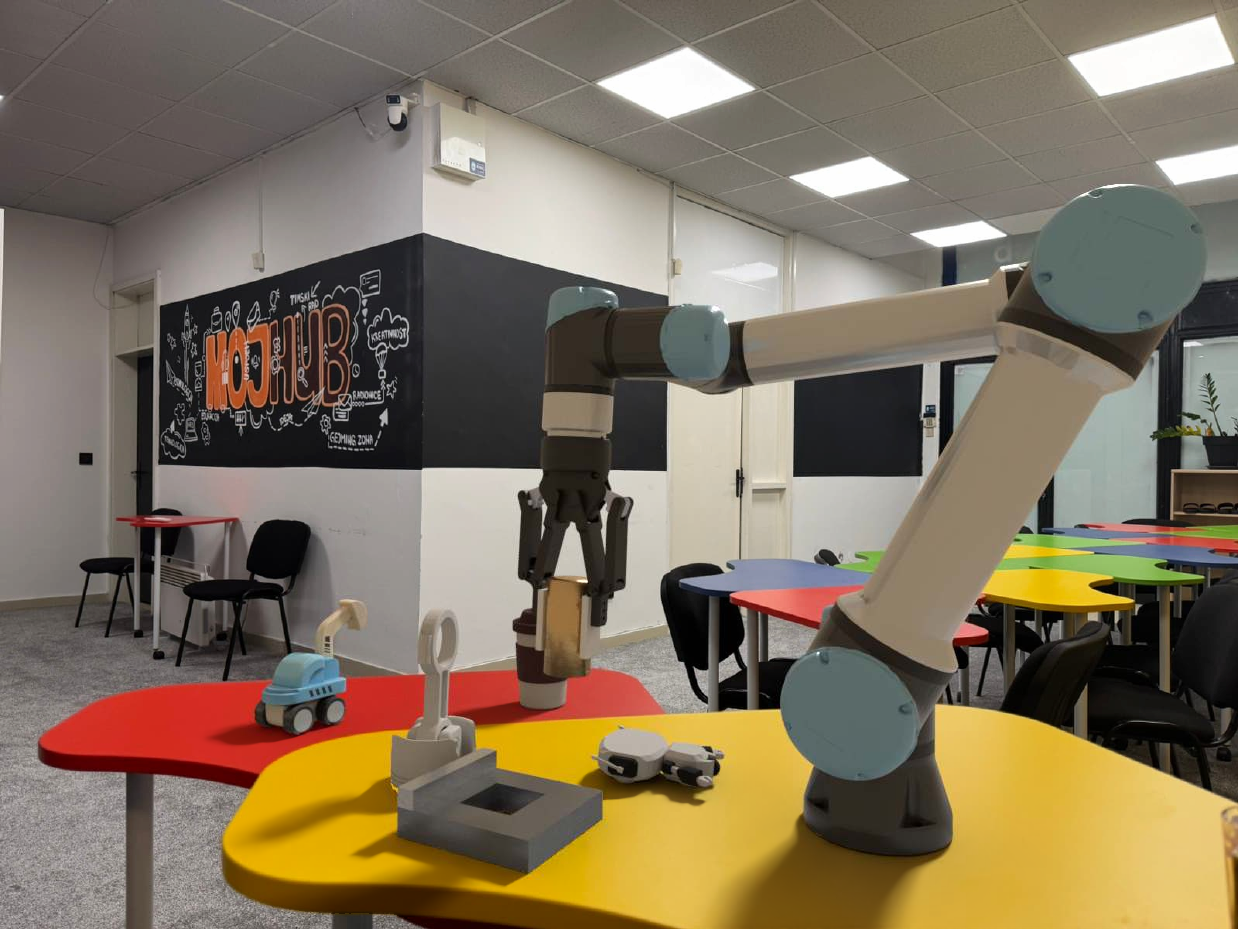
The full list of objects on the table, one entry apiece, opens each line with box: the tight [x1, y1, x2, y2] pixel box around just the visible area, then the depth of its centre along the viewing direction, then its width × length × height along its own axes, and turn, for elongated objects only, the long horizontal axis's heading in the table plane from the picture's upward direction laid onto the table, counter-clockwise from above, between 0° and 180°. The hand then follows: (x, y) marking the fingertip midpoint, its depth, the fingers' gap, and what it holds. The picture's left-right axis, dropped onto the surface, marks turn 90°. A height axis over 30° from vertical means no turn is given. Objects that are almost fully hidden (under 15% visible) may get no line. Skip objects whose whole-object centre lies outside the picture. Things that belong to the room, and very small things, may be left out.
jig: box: [396, 747, 604, 874], centre depth 87 cm, size 16×14×5 cm
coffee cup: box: [511, 607, 569, 710], centre depth 133 cm, size 10×10×15 cm
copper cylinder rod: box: [544, 575, 592, 679], centre depth 89 cm, size 5×5×10 cm
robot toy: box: [590, 725, 725, 788], centre depth 102 cm, size 12×4×15 cm
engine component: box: [390, 607, 478, 788], centre depth 100 cm, size 11×20×10 cm
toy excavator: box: [253, 598, 369, 736], centre depth 123 cm, size 9×17×17 cm, turn 148°
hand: (567, 651), depth 89 cm, fingers closed on copper cylinder rod, 5 cm apart
